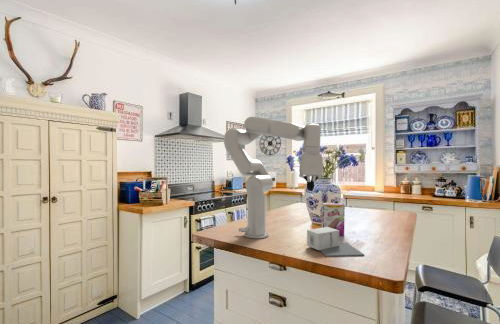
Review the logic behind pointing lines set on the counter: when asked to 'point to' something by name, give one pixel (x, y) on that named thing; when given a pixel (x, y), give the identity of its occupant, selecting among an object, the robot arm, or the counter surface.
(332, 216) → the candy bar box
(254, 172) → the robot arm
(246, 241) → the counter surface
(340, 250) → the mat
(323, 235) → the supplement box
